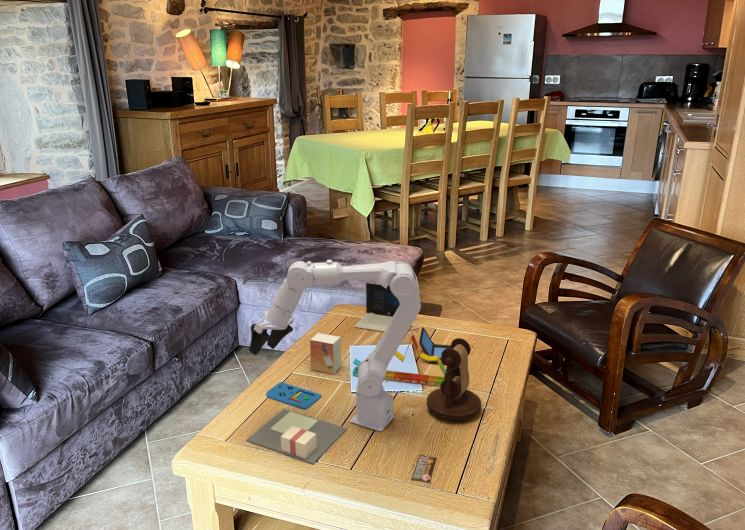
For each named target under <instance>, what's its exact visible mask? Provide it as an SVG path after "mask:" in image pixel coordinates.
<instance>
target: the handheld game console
mask: <svg viewBox="0 0 745 530" xmlns="http://www.w3.org/2000/svg"><path fill="white" fill-rule="evenodd" d="M418 343H419V344H418V345H420V349H422V351H423V354H426V355H428V356H439V358H440V360H441V362H442V364H443V366H446V365H445V364H444V363H443V361H442V359H441V354H442V352H443V350H445V349H447V348H451V344H450V345H449V344H436V343H435V342H433V341H432V339H431V337H430V335H429V334H428V332H427V330H426V329H425V328H424V327H423V326H422V327H421V331H420V335H419V340H418ZM428 364H429V365H431V364H432V365H439V364H438V362H437V361H428Z"/></svg>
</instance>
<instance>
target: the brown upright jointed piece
mask: <svg viewBox="0 0 745 530" xmlns="http://www.w3.org/2000/svg"><path fill="white" fill-rule="evenodd" d="M450 345H451V348H447V349H445V350H443V352H442V354H441V359H442V361H443V363H444V364H445V365H444V366H446V368H445V370H446V372H447V373H445V375H444V374H443V375H444V376H443V377H444V378H445V380H443V381H442V382H441V385H440V387H438V388H436V389H434V390H433V391H431V392H429V393H428V395H427V397H426V406H427V409H428V412H429V413H430V414H434V415H436V416H438V417H440V418H443V419H447V420H453V421H454V420H455V421H456V420H457V421H459V420H461V422H462V424H463V423H465V422H466V420H467V419H470V418H473V417H475V416H476V415H478V414H479V413H480V412H481V410H482V400H481V398H480V397H479V396H478V394H476V393H475V392H473V391H471V390H469V389H468V387H469V386H470V371H469V355H470V354H471V350H472V349H471V345H470V343H469V342H468V341H467V340H466V339H464V338H460V337H458V338H455V339H453V340H452V341H451V344H450Z"/></svg>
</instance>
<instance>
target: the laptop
mask: <svg viewBox="0 0 745 530" xmlns="http://www.w3.org/2000/svg"><path fill="white" fill-rule="evenodd" d="M365 300H366V301H365V305H366V307H365V310H366V313H365V314H364V315H363V316H362V318H360V319H359V320H358V322H356V324H355V325H354V326H353V327H354V328H357V329H364V330H369V331H377V332H383V333H384V332H385V330H386V328H387V326H388V325H389V323H390V321H391V319H392V317H393V316H394V314H395V312H396V310H397V309H398V307H399V305H400V303H399V300H398V298H397V297H396V296H395V295H394V294H393V293H392V292H391V289H390V285H387V288H384V287H383V286H382V285H381V284H379V283H374V282H366V283H365Z"/></svg>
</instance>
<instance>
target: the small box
mask: <svg viewBox="0 0 745 530" xmlns="http://www.w3.org/2000/svg"><path fill="white" fill-rule="evenodd" d="M309 342H310V343H309V345H310V347H309V349H310V350H309V351H310V354H309V355H310V370H311V371H316V372H320V373H325V374H328V375H335V374H336V373H337V372H338V370H339V369H341V367H342V337H341V336H338V335H337V336H336V335H330V334H327V333H321V332H317V333H316V334H315V335H314V336H313V337H312V338H311V339H309Z"/></svg>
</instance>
